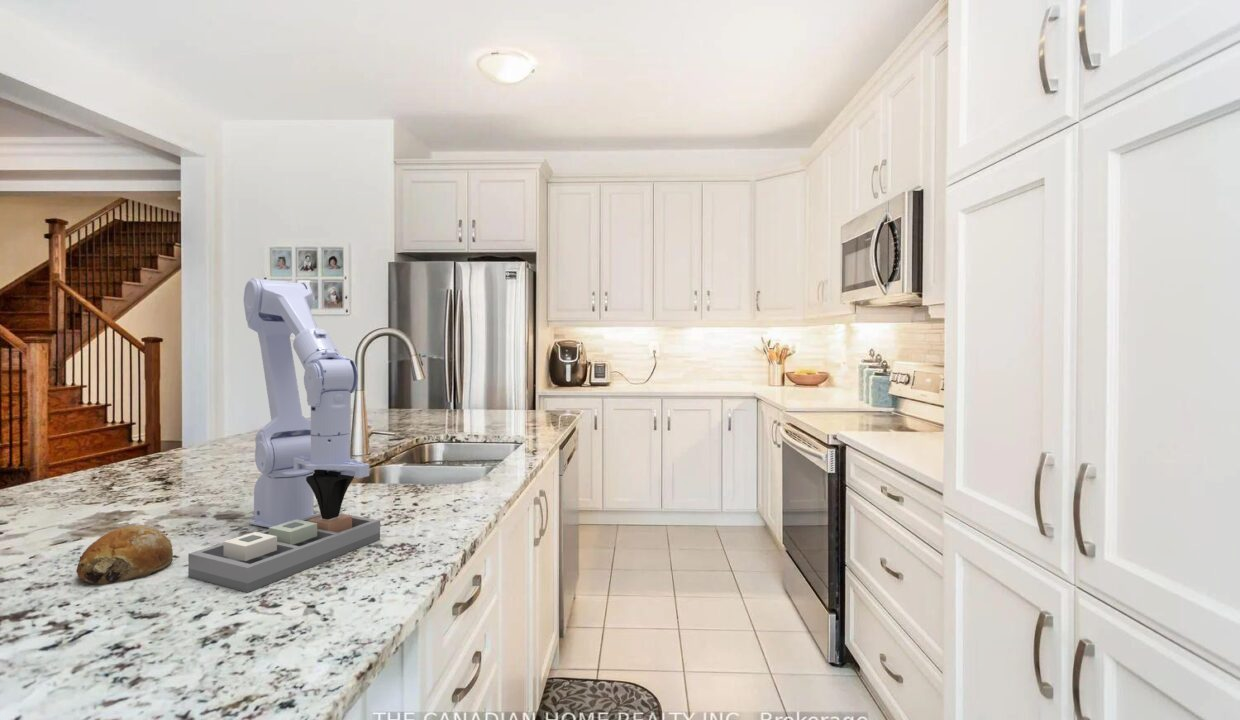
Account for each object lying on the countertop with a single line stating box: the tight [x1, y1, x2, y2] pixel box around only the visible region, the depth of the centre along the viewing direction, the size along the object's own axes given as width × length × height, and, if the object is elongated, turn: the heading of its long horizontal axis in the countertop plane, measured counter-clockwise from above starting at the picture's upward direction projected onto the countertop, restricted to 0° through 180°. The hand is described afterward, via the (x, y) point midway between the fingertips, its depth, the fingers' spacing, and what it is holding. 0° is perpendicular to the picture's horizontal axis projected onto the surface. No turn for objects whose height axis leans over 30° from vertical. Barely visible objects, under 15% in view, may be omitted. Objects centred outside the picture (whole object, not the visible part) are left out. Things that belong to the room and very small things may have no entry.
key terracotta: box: [308, 513, 352, 533], centre depth 90 cm, size 4×4×2 cm
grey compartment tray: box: [187, 512, 381, 593], centre depth 84 cm, size 12×22×3 cm, turn 158°
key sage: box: [268, 519, 317, 545], centre depth 84 cm, size 4×4×2 cm
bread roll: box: [75, 524, 174, 585], centre depth 79 cm, size 10×10×8 cm
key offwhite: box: [223, 531, 277, 561], centre depth 78 cm, size 4×4×2 cm
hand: (330, 517), depth 90 cm, fingers closed, pressing on key terracotta
